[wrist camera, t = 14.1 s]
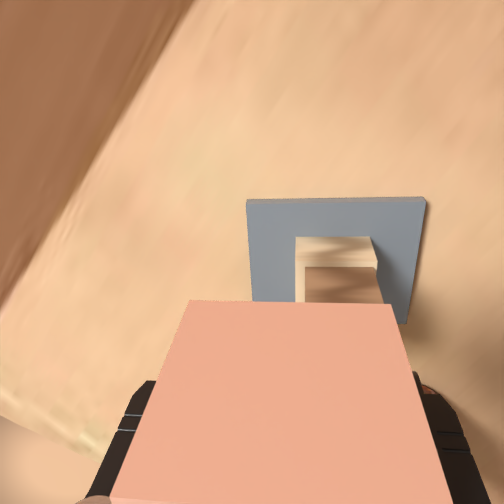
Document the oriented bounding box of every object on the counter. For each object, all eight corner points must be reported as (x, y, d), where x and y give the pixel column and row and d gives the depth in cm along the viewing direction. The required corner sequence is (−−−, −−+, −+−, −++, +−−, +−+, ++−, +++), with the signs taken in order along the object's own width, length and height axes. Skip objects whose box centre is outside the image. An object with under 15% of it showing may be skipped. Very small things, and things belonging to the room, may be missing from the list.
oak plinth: (369, 236, 33) (377, 261, 30) (364, 296, 36) (370, 325, 33) (295, 236, 34) (295, 261, 30) (296, 295, 37) (295, 324, 33)
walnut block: (373, 267, 30) (385, 308, 26) (367, 320, 32) (377, 366, 28) (304, 266, 31) (305, 306, 26) (304, 319, 33) (305, 363, 29)
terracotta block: (391, 303, 10) (459, 525, 6) (372, 438, 12) (411, 665, 8) (189, 300, 10) (108, 496, 6) (210, 429, 13) (163, 634, 9)
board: (422, 196, 32) (426, 201, 31) (403, 317, 38) (406, 324, 37) (247, 199, 34) (245, 204, 33) (255, 314, 40) (254, 320, 39)
